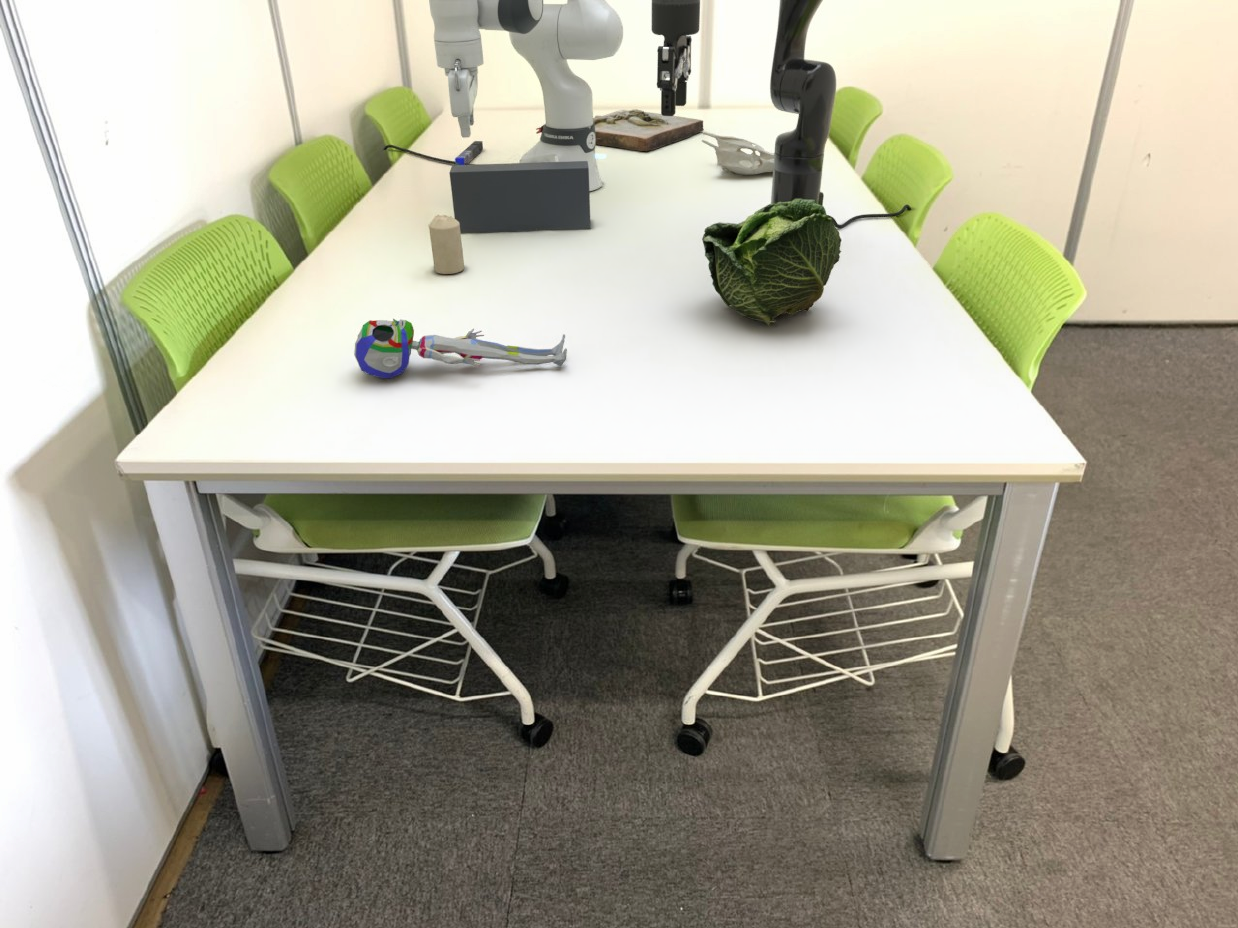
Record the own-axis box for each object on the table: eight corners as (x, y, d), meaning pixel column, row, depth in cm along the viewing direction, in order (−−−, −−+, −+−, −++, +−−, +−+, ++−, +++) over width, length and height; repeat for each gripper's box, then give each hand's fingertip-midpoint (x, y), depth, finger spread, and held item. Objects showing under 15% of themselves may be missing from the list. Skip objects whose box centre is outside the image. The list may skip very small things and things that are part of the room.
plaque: (647, 125, 237) (559, 112, 252) (647, 153, 241) (560, 139, 256) (706, 107, 258) (622, 97, 273) (705, 133, 262) (622, 121, 277)
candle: (469, 265, 169) (463, 213, 163) (455, 275, 164) (449, 221, 159) (443, 262, 170) (437, 210, 165) (429, 272, 166) (422, 219, 160)
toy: (569, 347, 126) (349, 329, 122) (563, 400, 131) (350, 385, 126) (565, 318, 135) (359, 301, 130) (559, 369, 139) (360, 354, 134)
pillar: (482, 141, 246) (462, 159, 229) (483, 149, 247) (463, 167, 230) (474, 141, 246) (454, 159, 230) (475, 149, 247) (455, 167, 231)
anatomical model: (704, 128, 226) (804, 127, 222) (703, 165, 231) (801, 165, 227) (699, 142, 214) (805, 141, 210) (699, 181, 219) (803, 181, 215)
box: (456, 233, 186) (449, 172, 179) (458, 225, 190) (451, 165, 184) (590, 229, 187) (588, 168, 180) (589, 220, 192) (587, 161, 185)
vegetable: (733, 339, 155) (677, 239, 148) (822, 277, 157) (772, 174, 149) (783, 360, 137) (723, 247, 129) (884, 290, 138) (830, 173, 131)
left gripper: (472, 64, 162) (480, 143, 169) (479, 45, 179) (486, 118, 186) (437, 66, 161) (447, 145, 169) (447, 47, 178) (456, 119, 186)
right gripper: (690, 4, 132) (687, 120, 140) (708, -5, 143) (704, 103, 152) (641, 4, 133) (641, 118, 142) (662, -5, 145) (661, 101, 154)
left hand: (468, 130), depth 178 cm, fingers open, 8 cm apart
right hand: (674, 110), depth 147 cm, fingers open, 8 cm apart
